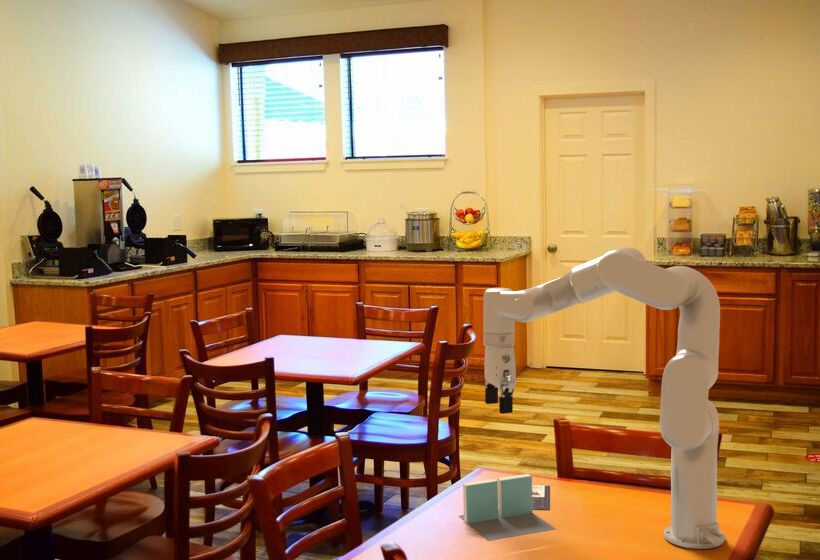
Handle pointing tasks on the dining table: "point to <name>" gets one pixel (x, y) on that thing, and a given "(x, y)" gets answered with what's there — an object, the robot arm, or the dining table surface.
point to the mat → (510, 526)
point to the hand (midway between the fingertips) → (498, 408)
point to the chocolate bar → (540, 497)
